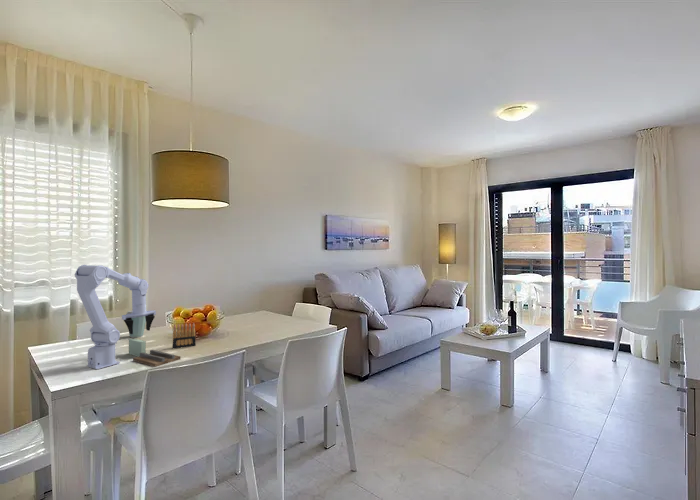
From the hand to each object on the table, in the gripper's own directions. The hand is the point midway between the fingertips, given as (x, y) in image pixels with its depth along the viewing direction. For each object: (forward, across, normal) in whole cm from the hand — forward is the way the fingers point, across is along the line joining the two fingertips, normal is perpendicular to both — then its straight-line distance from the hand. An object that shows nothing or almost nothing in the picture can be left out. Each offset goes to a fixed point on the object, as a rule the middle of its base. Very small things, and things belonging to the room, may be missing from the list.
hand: (139, 331), depth 174 cm
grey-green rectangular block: (+10, +3, +3) cm, 11 cm away
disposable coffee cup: (+11, -12, -33) cm, 37 cm away
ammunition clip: (+11, -18, +7) cm, 22 cm away
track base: (+10, 0, +18) cm, 20 cm away
